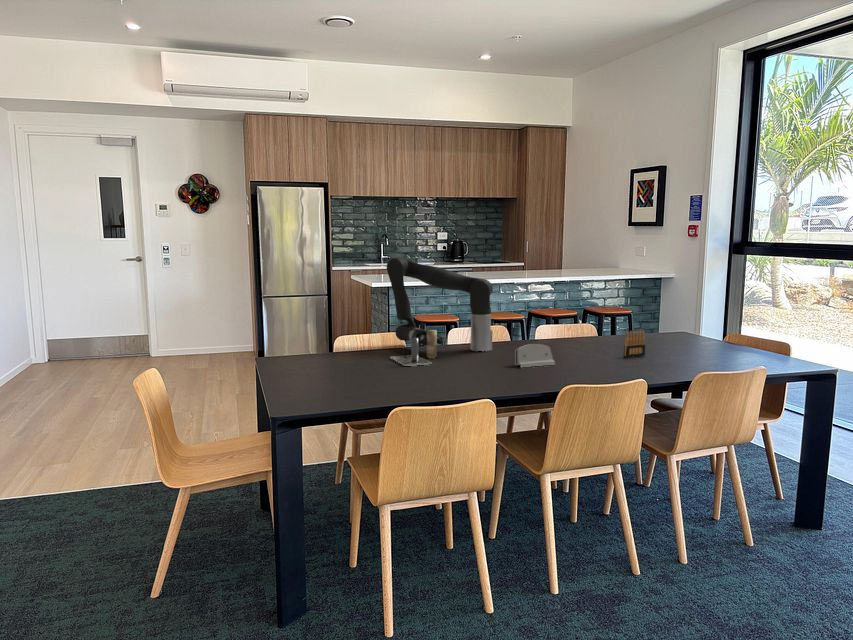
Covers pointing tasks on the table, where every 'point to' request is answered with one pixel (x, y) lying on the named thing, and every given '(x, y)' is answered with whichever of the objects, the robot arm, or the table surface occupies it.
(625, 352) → the ammunition clip
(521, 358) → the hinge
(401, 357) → the bolt plate
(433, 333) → the oak post
